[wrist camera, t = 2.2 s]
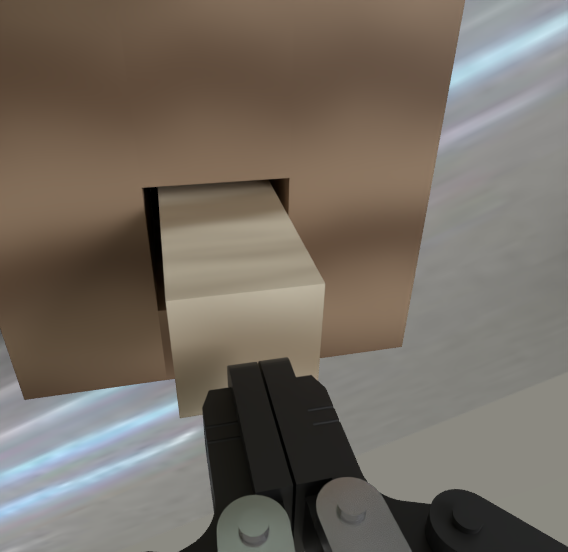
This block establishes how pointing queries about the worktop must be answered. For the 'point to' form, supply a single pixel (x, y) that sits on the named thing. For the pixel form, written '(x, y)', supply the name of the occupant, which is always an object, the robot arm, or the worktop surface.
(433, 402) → the worktop surface
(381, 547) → the robot arm
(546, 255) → the worktop surface
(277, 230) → the birch peg
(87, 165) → the walnut block
